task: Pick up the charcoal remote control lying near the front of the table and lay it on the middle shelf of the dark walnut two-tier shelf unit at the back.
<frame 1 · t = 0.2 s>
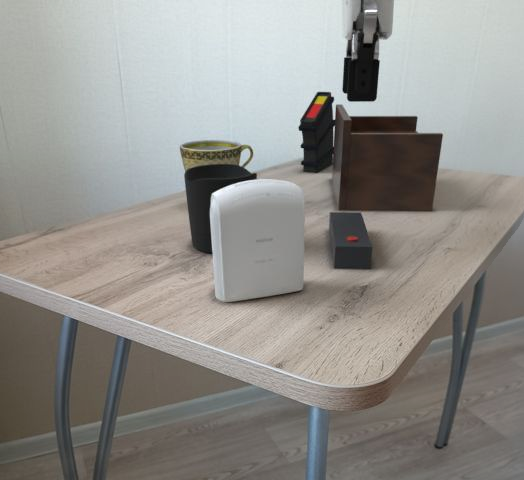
hand: (358, 96, 65), 19 cm above the table, tool pointing down, fingers open, 9 cm apart
photo printer: (259, 294, 62), on the table
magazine: (316, 170, 120), on the table
ceramic cup: (221, 206, 95), on the table
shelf: (380, 194, 100), on the table
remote: (347, 249, 74), on the table
pen holder: (223, 246, 76), on the table
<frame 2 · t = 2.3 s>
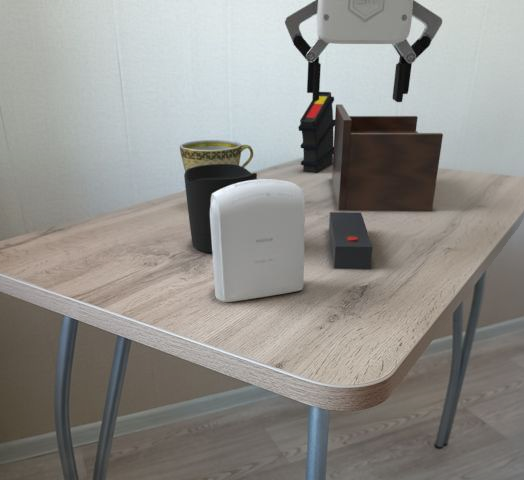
hand: (356, 100, 65), 18 cm above the table, tool pointing down, fingers open, 9 cm apart
nothing on the table moved.
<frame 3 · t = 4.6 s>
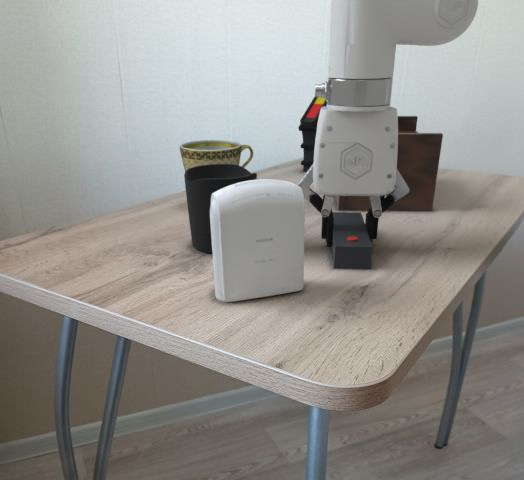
hand: (348, 242, 74), 1 cm above the table, tool pointing down, fingers closed on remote, 4 cm apart
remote: (347, 249, 74), on the table, touching gripper
everything else where it was.
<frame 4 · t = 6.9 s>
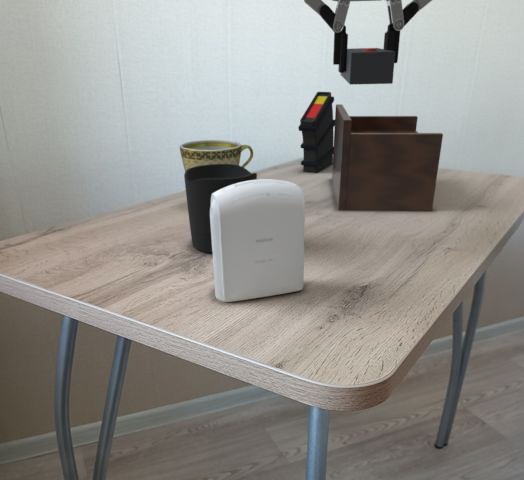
hand: (364, 69, 64), 22 cm above the table, tool pointing down, fingers closed on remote, 4 cm apart
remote: (363, 79, 65), point 21 cm above the table, touching gripper
everything else where it was.
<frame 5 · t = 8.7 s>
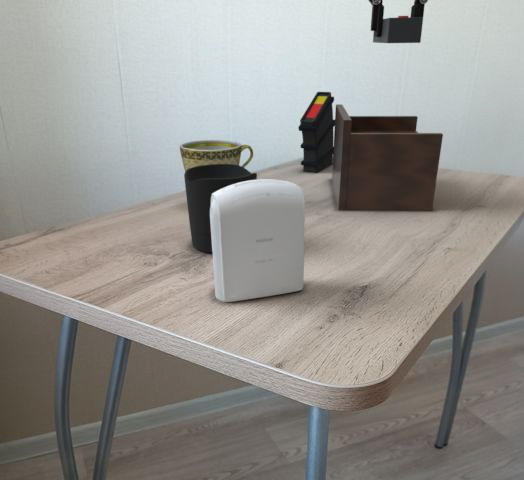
hand: (395, 35, 81), 25 cm above the table, tool pointing down, fingers closed on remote, 4 cm apart
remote: (394, 42, 82), point 24 cm above the table, touching gripper
everything else where it was.
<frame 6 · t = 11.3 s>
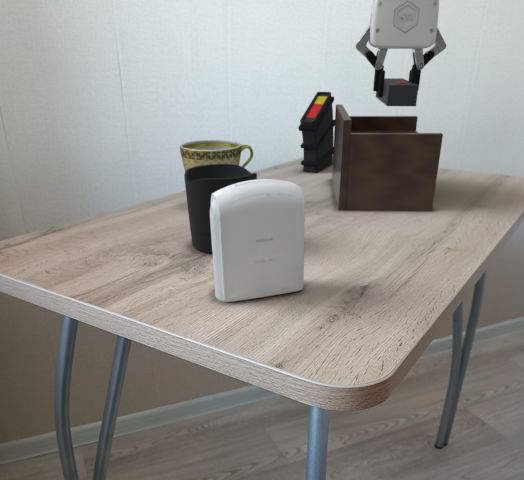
hand: (395, 95, 92), 17 cm above the table, tool pointing down, fingers closed on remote, 4 cm apart
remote: (394, 101, 92), point 16 cm above the table, touching gripper
everything else where it was.
when the fingers open (11 cm above the table, at t = 13.1 s): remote stays where it is, resting on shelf.
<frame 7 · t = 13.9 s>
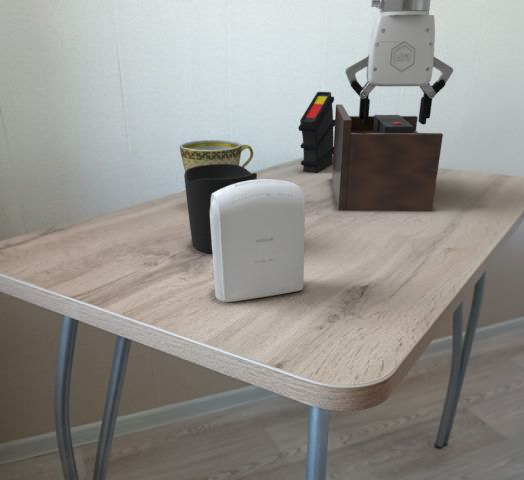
hand: (393, 123, 94), 12 cm above the table, tool pointing down, fingers open, 9 cm apart
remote: (390, 138, 95), point 10 cm above the table, touching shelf
everything else where it was.
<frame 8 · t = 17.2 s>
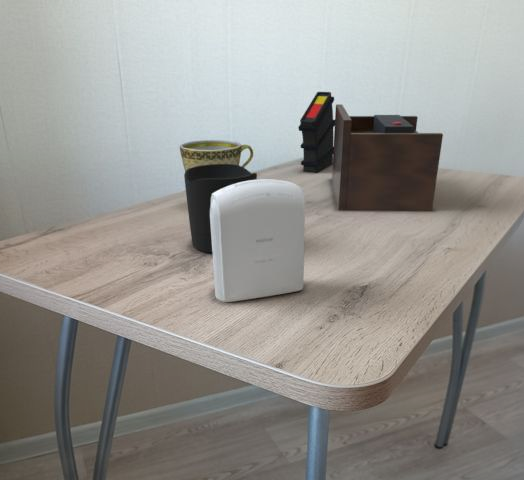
nothing on the table moved.
at the end: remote inside the target area on the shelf (0.9 cm from its centre), point 9.6 cm above the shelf's base; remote tilted 0° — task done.
